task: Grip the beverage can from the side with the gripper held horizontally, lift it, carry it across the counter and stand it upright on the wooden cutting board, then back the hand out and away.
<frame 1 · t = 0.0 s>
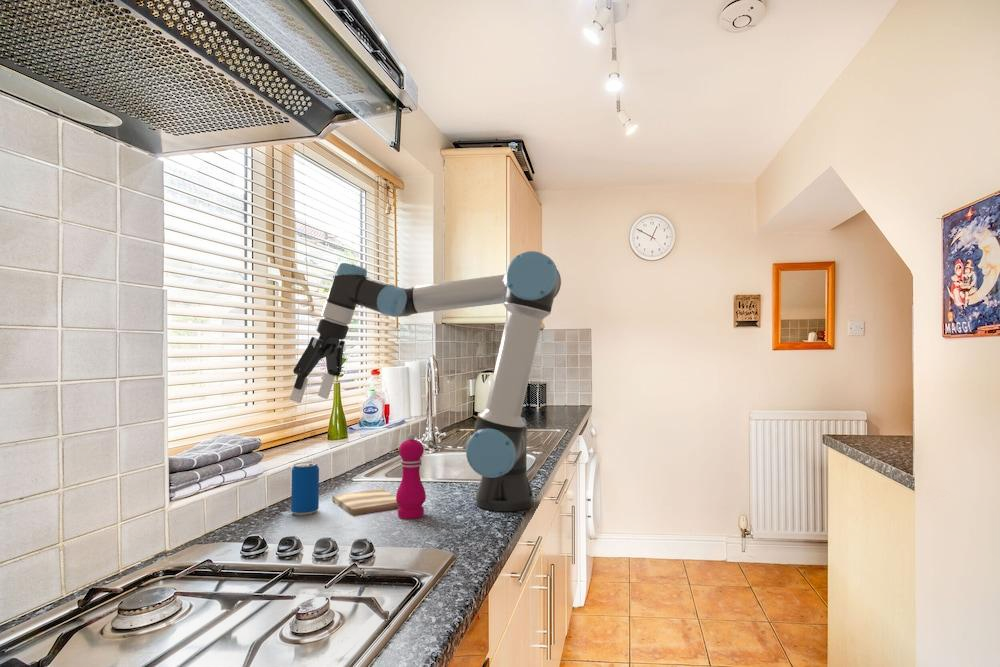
hand: (309, 399, 144), 28 cm above the countertop, tool tilted 20°, fingers open, 13 cm apart
wooden cutting board: (368, 503, 147), on the countertop
pepper mill: (410, 516, 137), on the countertop
beverage can: (304, 513, 139), on the countertop
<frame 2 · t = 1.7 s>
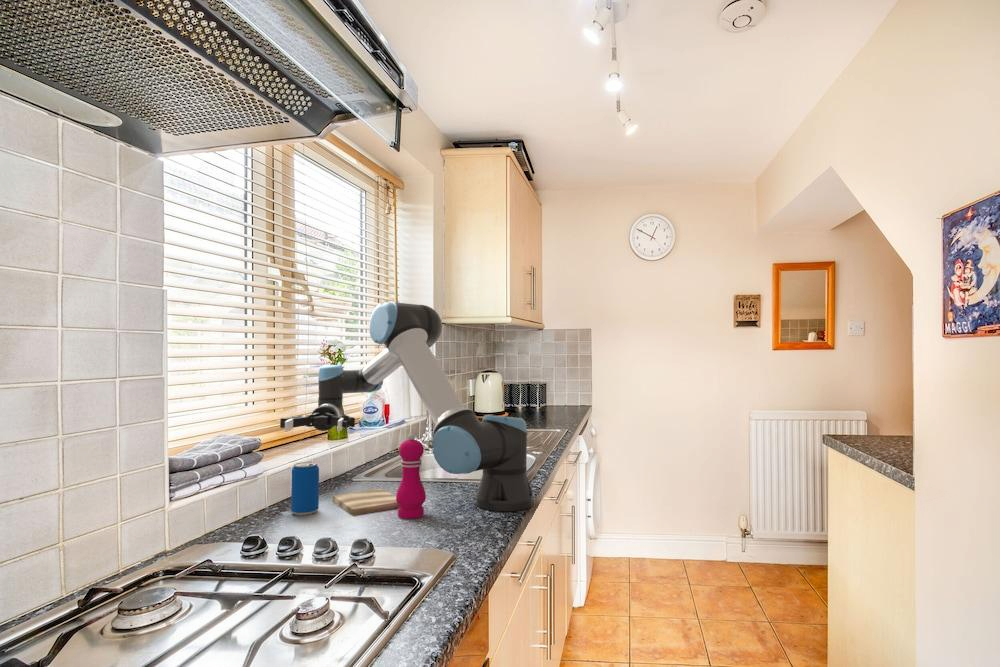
hand: (312, 426, 149), 20 cm above the countertop, tool horizontal, fingers open, 13 cm apart
nothing on the countertop moved.
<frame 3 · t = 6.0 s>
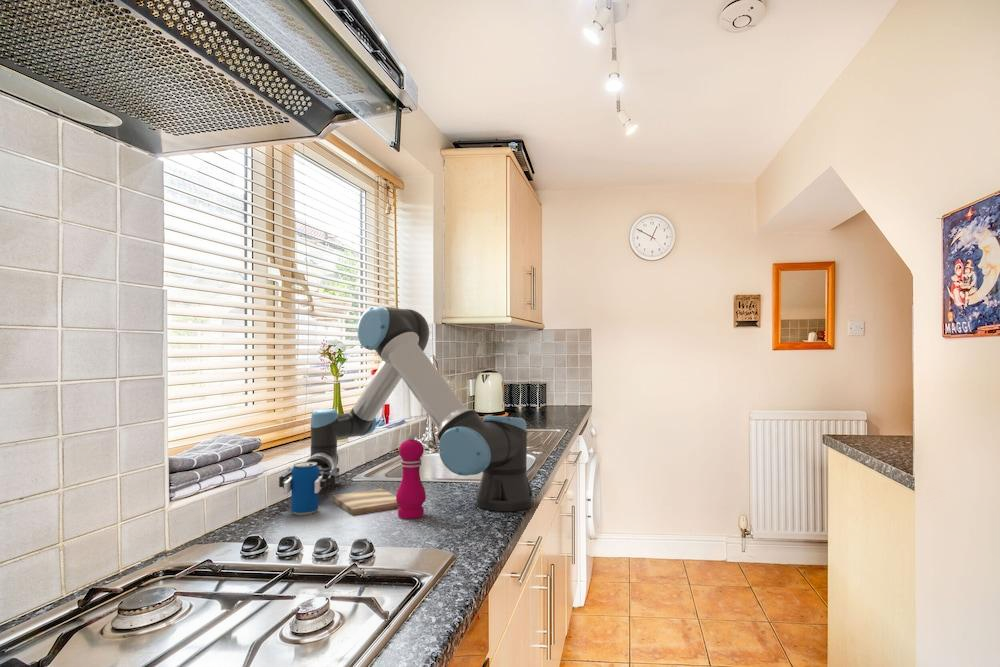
hand: (301, 488, 134), 7 cm above the countertop, tool horizontal, fingers closed on beverage can, 6 cm apart
beverage can: (304, 513, 139), on the countertop, touching gripper
everything else where it was.
when the fingers open (10 cm above the countertop, at t = 11.1 s): beverage can drops 1 cm, resting on wooden cutting board.
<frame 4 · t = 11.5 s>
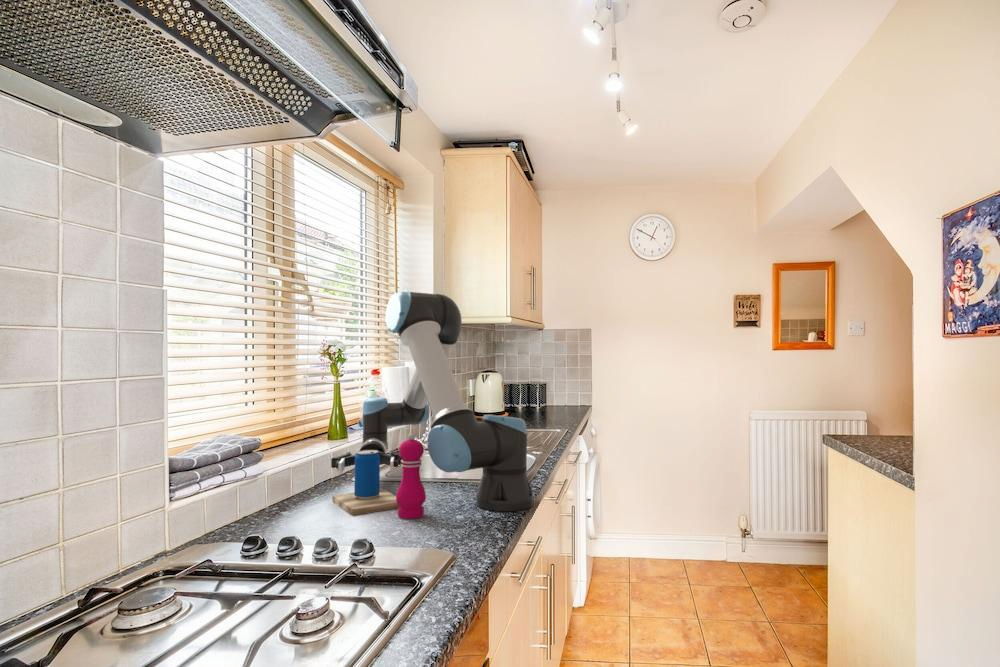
hand: (365, 467, 145), 10 cm above the countertop, tool horizontal, fingers open, 12 cm apart
beverage can: (367, 497, 148), point 1 cm above the countertop, touching wooden cutting board
everything else where it was.
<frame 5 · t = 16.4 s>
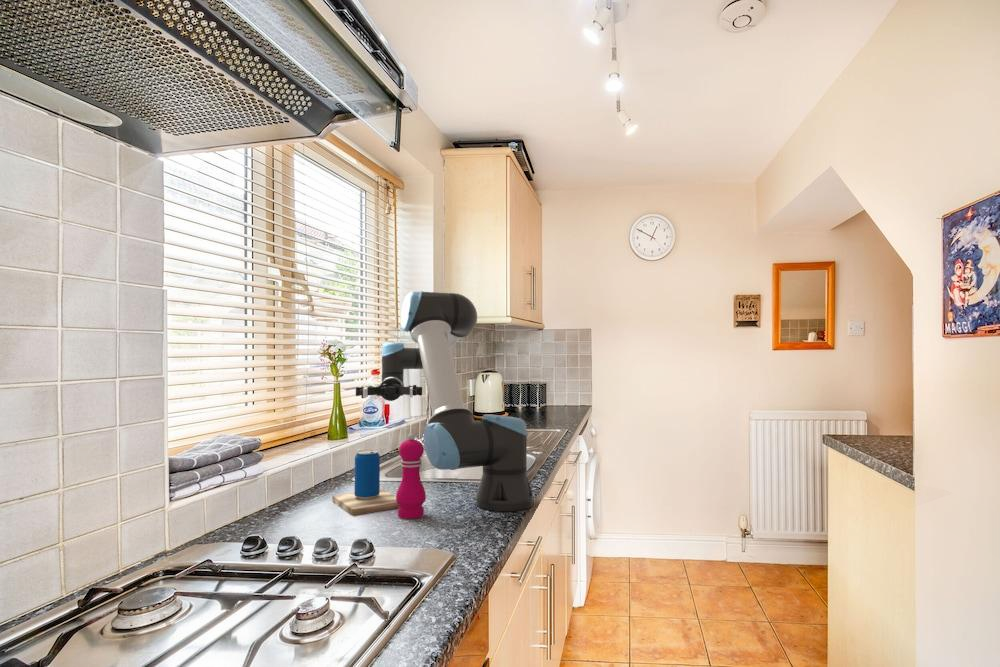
hand: (387, 393, 165), 28 cm above the countertop, tool horizontal, fingers open, 13 cm apart
nothing on the countertop moved.
at the end: beverage can inside the target area on the wooden cutting board (1.1 cm from its centre), point 1.3 cm above the wooden cutting board's base; beverage can tilted 0°; the gripper is holding nothing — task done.
